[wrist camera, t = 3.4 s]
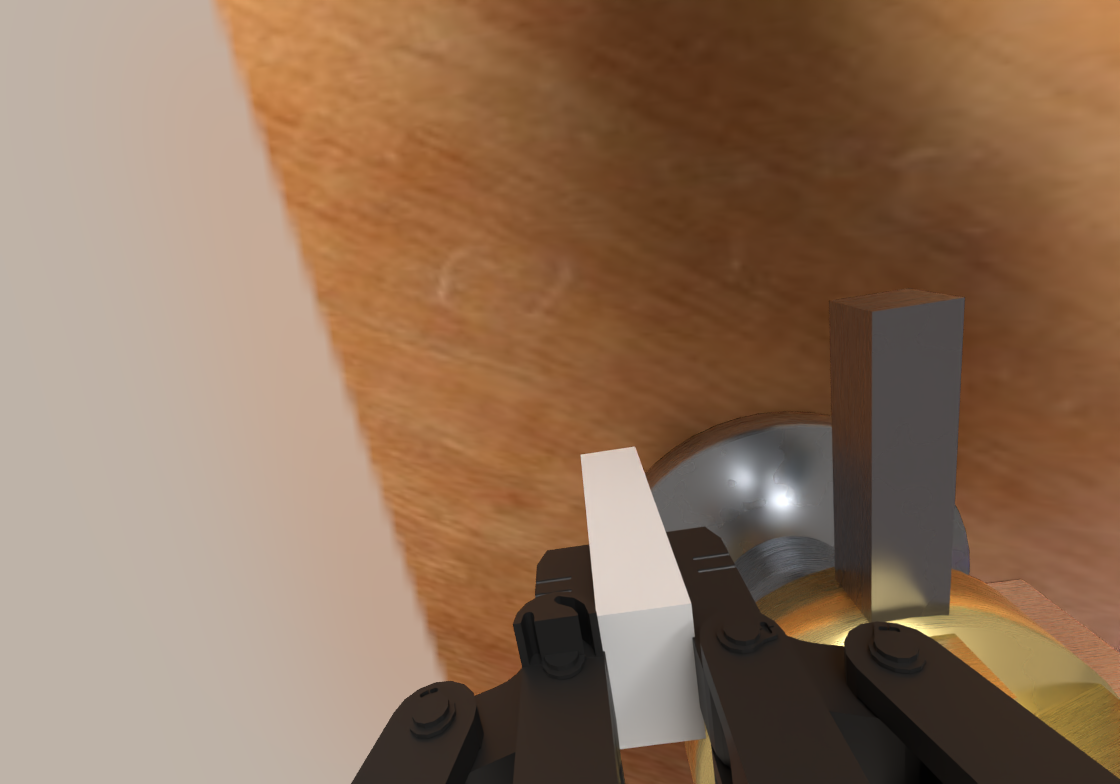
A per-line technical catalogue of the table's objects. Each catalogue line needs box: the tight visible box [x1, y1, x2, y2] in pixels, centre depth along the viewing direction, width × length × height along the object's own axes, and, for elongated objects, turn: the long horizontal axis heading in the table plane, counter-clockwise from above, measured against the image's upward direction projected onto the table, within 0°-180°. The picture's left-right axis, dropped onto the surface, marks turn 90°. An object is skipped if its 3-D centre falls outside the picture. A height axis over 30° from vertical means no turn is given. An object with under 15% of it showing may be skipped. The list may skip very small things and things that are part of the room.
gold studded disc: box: [684, 288, 1120, 784], centre depth 15 cm, size 20×12×5 cm, turn 9°
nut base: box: [645, 411, 1120, 698], centre depth 20 cm, size 16×20×12 cm
